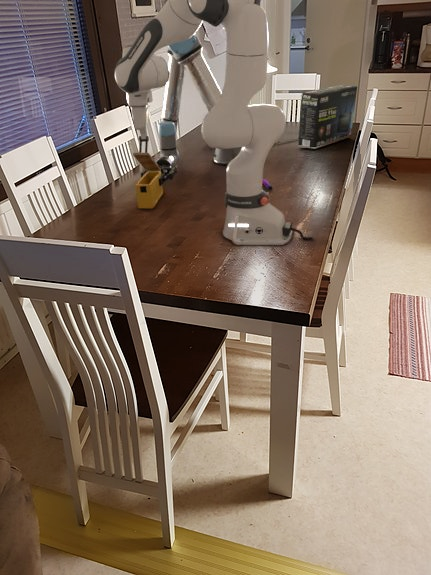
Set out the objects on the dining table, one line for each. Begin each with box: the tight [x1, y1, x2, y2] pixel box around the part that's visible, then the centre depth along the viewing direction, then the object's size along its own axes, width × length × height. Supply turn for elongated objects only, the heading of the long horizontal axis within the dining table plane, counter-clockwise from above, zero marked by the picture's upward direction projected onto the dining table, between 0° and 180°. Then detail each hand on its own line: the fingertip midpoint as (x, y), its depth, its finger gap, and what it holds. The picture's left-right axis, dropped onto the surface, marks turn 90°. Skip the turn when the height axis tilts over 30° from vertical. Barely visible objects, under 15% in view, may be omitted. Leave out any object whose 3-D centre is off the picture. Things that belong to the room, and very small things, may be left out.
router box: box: [297, 84, 358, 151], centre depth 238 cm, size 36×11×27 cm, turn 134°
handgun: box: [262, 177, 274, 192], centre depth 191 cm, size 21×8×2 cm, turn 11°
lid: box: [132, 135, 161, 171], centre depth 173 cm, size 18×6×8 cm
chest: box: [135, 171, 164, 209], centre depth 177 cm, size 17×6×9 cm, turn 173°
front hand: (144, 137), depth 167 cm, fingers closed
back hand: (151, 182), depth 179 cm, fingers closed on chest, 6 cm apart
